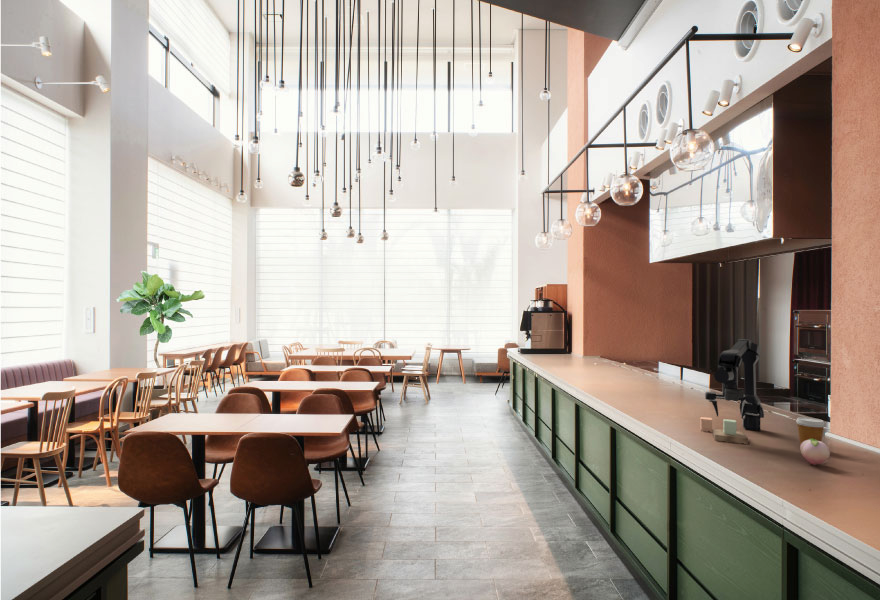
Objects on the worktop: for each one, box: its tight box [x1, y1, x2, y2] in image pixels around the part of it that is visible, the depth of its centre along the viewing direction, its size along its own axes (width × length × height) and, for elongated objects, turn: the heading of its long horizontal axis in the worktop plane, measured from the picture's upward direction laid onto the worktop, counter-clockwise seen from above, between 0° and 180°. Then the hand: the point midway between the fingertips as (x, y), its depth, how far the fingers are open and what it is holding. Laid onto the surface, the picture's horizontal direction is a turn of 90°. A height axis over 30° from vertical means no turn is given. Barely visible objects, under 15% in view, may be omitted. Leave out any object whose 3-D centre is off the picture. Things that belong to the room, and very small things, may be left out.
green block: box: [722, 418, 738, 435], centre depth 217 cm, size 4×4×6 cm
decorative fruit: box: [799, 437, 831, 466], centre depth 182 cm, size 9×8×10 cm
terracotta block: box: [699, 416, 713, 433], centre depth 233 cm, size 4×4×6 cm
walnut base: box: [712, 428, 749, 445], centre depth 217 cm, size 12×12×2 cm
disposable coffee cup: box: [795, 416, 826, 447], centre depth 203 cm, size 10×10×12 cm
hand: (729, 417), depth 217 cm, fingers open, 9 cm apart
